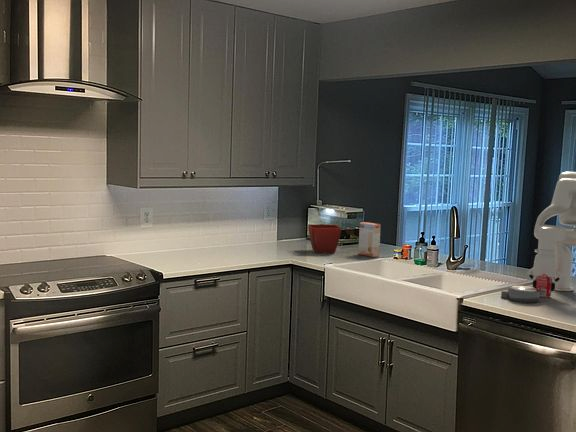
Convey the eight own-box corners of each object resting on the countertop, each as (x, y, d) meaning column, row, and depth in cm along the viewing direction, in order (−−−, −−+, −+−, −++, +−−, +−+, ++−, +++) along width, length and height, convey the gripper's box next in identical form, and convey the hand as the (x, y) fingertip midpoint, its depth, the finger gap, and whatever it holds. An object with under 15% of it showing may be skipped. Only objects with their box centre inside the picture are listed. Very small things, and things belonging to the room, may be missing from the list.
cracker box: (379, 257, 402) (381, 224, 400) (372, 257, 399) (374, 224, 396) (365, 253, 414) (366, 221, 411) (357, 254, 410) (359, 222, 408)
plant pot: (307, 249, 425) (307, 224, 423) (335, 249, 427) (336, 224, 425) (311, 253, 406) (312, 227, 404) (340, 254, 408) (341, 228, 407)
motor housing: (504, 294, 305) (505, 283, 304) (541, 299, 297) (542, 287, 296) (499, 299, 292) (499, 288, 292) (537, 305, 285) (538, 293, 284)
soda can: (547, 294, 307) (548, 270, 305) (553, 298, 300) (555, 273, 298) (532, 294, 306) (534, 270, 305) (538, 297, 299) (540, 272, 298)
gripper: (525, 252, 302) (523, 288, 303) (565, 255, 293) (562, 293, 295) (528, 250, 308) (525, 286, 310) (566, 253, 300) (564, 290, 302)
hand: (543, 289), depth 303 cm, fingers closed on soda can, 7 cm apart
